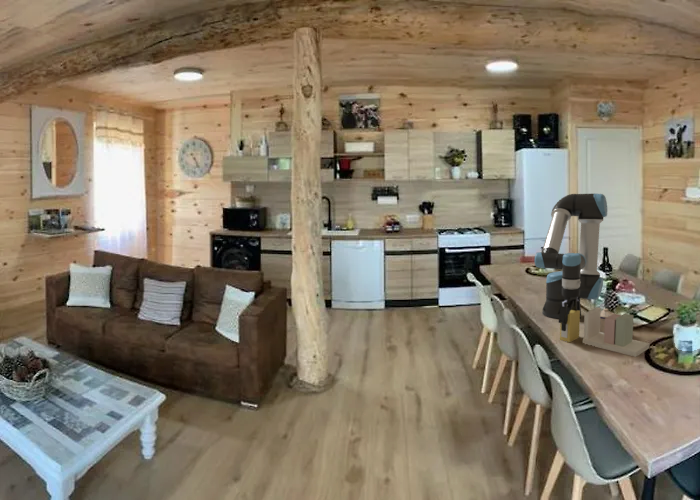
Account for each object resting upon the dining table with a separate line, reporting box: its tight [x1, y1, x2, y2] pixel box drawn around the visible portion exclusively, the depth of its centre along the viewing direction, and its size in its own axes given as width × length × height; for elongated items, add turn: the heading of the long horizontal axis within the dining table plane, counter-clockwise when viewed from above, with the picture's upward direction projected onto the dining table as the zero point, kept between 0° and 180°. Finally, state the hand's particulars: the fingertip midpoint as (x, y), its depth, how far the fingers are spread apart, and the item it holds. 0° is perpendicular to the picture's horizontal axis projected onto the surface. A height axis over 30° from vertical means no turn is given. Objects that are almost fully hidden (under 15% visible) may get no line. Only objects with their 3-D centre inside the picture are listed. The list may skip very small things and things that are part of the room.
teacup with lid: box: [600, 308, 615, 333], centre depth 225 cm, size 12×9×12 cm
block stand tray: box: [582, 307, 650, 358], centre depth 208 cm, size 22×14×14 cm, turn 38°
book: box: [559, 310, 581, 343], centre depth 219 cm, size 4×9×13 cm, turn 128°
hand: (569, 334), depth 219 cm, fingers closed on book, 9 cm apart
